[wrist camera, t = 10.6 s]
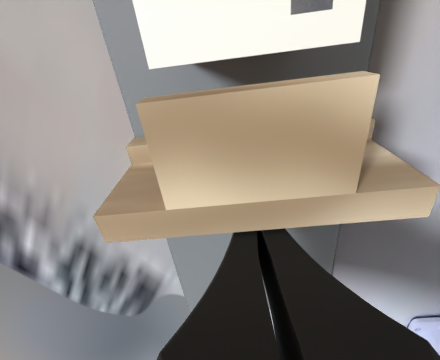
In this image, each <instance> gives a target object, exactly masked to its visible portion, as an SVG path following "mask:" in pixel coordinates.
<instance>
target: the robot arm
mask: <svg viewBox="0 0 440 360" xmlns="http://www.w3.org/2000/svg"><path fill="white" fill-rule="evenodd" d="M262 277H263V278H262ZM263 281H264V283H263ZM264 285H265V288H264ZM265 289H266V293H267V297H268V301H269V305H270V309H271V314H272V319H273V324H274V330H275V334H274V330H273V325H272V321H271V316H270V312H269V307H268V302H267V298H266V293H265ZM275 337H276V338H275ZM157 360H440V317H433V318H417V319H414V320H412V321H411V323H410V325H409V327H408V328H406V327H405V326H403V325H401V324H400V323H398V322H396V321H395V320H393V319H391V318H390V317H388V316H387V315H385V314H384V313H382V312H381V311H379V310H378V309H376V308H375V307H373V306H372V305H370V304H369V303H367V302H366V301H364V300H363V299H362V298H360V297H359V296H358V295H357V294H355V293H354V292H353V291H351V290H350V289H349V288H347V287H346V286H345V285H343V284H342V283H341V282H339V281H338V280H337V279H336V278H334V277H333V276H332V275H331V274H330V273H328V272H327V271H326V270H325V269H324V268H323V267H322V266H320V265H319V264H318V263H317V262H316V261H315V260H314V259H313V258H312V257H311V256H310V255H309V254H308V253H307V252H306V251H305V250H304V249H303V248H302V247H301V246H300V245H299V244H298V243H297V242H296V241H295V239H294V238H293V237H292V236H291V235H290V234H289V232H288V231H287V230H286V229H285V228H283V229H271V230H258V231H246V232H233V235H232V238H231V241H230V244H229V246H228V248H227V251H226V253H225V256H224V258H223V260H222V262H221V264H220V266H219V268H218V270H217V272H216V274H215V276H214V278H213V279H212V281H211V283H210V284H209V286H208V288H207V290H206V291H205V293H204V294H203V296H202V298H201V299H200V301H199V302H198V303H197V305H196V306H195V308H194V309H193V311H192V312H191V314H190V315H189V316H188V318H187V319H186V320H185V322H184V323H183V324H182V326H181V327H180V328H179V330H178V331H177V332H176V333H175V334H174V336H173V337H172V338H171V339H170V340H169V342H168V343H167V344H166V345H165V347H164V348H163V349H162V350H161V352H160V353H159V356H158V358H157Z"/></svg>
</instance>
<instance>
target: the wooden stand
mask: <svg viewBox="0 0 440 360" xmlns="http://www.w3.org/2000/svg"><path fill="white" fill-rule="evenodd" d="M379 78H380V74H376V73H371V72H366V71H358V72H350V73H342V74H333V75H325V76H317V77H309V78H301V79H293V80H284V81H276V82H268V83H260V84H252V85H243V86H235V87H227V88H219V89H211V90H203V91H194V92H186V93H178V94H170V95H162V96H153V97H145V98H143V99H142V100H140V101H139V102H138V103H136V107H137V111H138V114H139V118H140V121H141V125H142V128H143V132H144V135H145V137H137V138H134V139H133V140H132V141H131V142H130V143H129V144H128V145H127V146H126V149H127V152H128V155H129V158H130V161H131V163H132V165H131V166H130V168H129V169H128V170H127V172H126V173H125V174H124V176H123V177H122V178H121V180H120V181H119V182H118V184H117V185H116V186H115V188H114V189H113V190H112V192H111V193H110V194H109V196H108V197H107V198H106V200H105V201H104V202H103V204H102V205H101V206H100V208H99V209H98V210H97V212H96V213H95V214H94V216H93V218H94V220H95V222H96V224H97V226H98V228H99V230H100V232H101V234H102V236H103V238H104V240H105V242H106V243H109V242H121V241H134V240H146V239H159V238H171V237H184V236H196V235H209V234H221V233H233V232H246V231H258V230H271V229H283V228H296V227H308V226H321V225H333V224H346V223H358V222H371V221H383V220H395V219H408V218H420V217H429V214H430V212H431V210H432V207H433V205H434V202H435V200H436V198H437V195H438V193H439V190H440V185H439V184H438V183H436V182H435V181H433V180H432V179H430V178H429V177H427V176H426V175H424V174H423V173H421V172H420V171H418V170H417V169H415V168H414V167H412V166H410V165H409V164H407V163H406V162H404V161H403V160H401V159H400V158H398V157H397V156H395V155H394V154H392V153H391V152H389V151H388V150H386V149H385V148H383V147H382V146H380V145H378V144H377V143H375V142H374V141H372V140H371V139H372V134H373V130H374V125H375V119H373V118H371V117H372V112H373V107H374V103H375V98H376V93H377V88H378V83H379Z"/></svg>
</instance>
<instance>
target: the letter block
mask: <svg viewBox="0 0 440 360" xmlns="http://www.w3.org/2000/svg"><path fill="white" fill-rule="evenodd" d="M132 1H133V5H134V9H135V13H136V17H137V22H138V26H139V30H140V34H141V38H142V42H143V46H144V50H145V54H146V59H147V63H148V67H149V69H155V68H163V67H170V66H178V65H186V64H193V63H201V62H209V61H216V60H224V59H232V58H239V57H247V56H255V55H262V54H270V53H278V52H285V51H293V50H301V49H308V48H316V47H324V46H331V45H339V44H347V43H354V42H360V37H361V31H362V24H363V18H364V11H365V5H366V0H132Z"/></svg>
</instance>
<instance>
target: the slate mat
mask: <svg viewBox="0 0 440 360" xmlns="http://www.w3.org/2000/svg"><path fill="white" fill-rule="evenodd" d="M93 4H94V7H95V10H96V13H97V16H98V20H99V23H100V26H101V29H102V32H103V36H104V39H105V42H106V45H107V49H108V52H109V55H110V58H111V61H112V65H113V68H114V71H115V74H116V77H117V81H118V84H119V87H120V90H121V94H122V97H123V100H124V103H125V106H126V110H127V113H128V116H129V119H130V123H131V126H132V129H133V132H134V135H135V138H137V137H145V135H144V132H143V128H142V125H141V121H140V118H139V114H138V111H137V107H136V103H138V102H139V101H140V100H142V99H143V98H145V97H153V96H162V95H170V94H178V93H186V92H194V91H203V90H211V89H219V88H227V87H235V86H243V85H252V84H260V83H268V82H276V81H284V80H293V79H301V78H309V77H317V76H325V75H333V74H342V73H350V72H358V71H366V72H368V66H369V61H370V55H371V50H372V44H373V38H374V33H375V27H376V22H377V16H378V10H379V5H380V0H366V5H365V11H364V18H363V24H362V31H361V37H360V42H354V43H347V44H339V45H331V46H324V47H316V48H308V49H301V50H293V51H285V52H278V53H270V54H262V55H255V56H247V57H239V58H232V59H224V60H216V61H209V62H201V63H193V64H186V65H178V66H170V67H163V68H155V69H149V67H148V63H147V59H146V54H145V50H144V46H143V42H142V38H141V34H140V30H139V26H138V22H137V17H136V13H135V9H134V5H133V1H132V0H93ZM339 228H340V224H333V225H321V226H308V227H296V228H285V229H286V230H287V231H288V232H289V234H290V235H291V236H292V237H293V238H294V239H295V241H296V242H297V243H298V244H299V245H300V246H301V247H302V248H303V249H304V250H305V251H306V252H307V253H308V254H309V255H310V256H311V257H312V258H313V259H314V260H315V261H316V262H317V263H318V264H319V265H320V266H322V267H323V268H324V269H325V270H326V271H327V272H328V273H330V274H331V273H332V267H333V262H334V256H335V251H336V245H337V240H338V234H339ZM232 235H233V233H221V234H209V235H196V236H184V237H171V238H167V241H168V245H169V248H170V251H171V254H172V258H173V261H174V264H175V267H176V270H177V274H178V277H179V280H180V283H181V287H182V290H183V293H184V296H185V299H186V302H187V306H188V309H189V312H192V311H193V309H194V308H195V306H196V305H197V303H198V302H199V301H200V299H201V298H202V296H203V294H204V293H205V291H206V290H207V288H208V286H209V284H210V283H211V281H212V279H213V278H214V276H215V274H216V272H217V270H218V268H219V266H220V264H221V262H222V260H223V258H224V256H225V253H226V251H227V248H228V246H229V244H230V241H231V238H232ZM262 278H263V277H262ZM263 283H264V281H263ZM264 288H265V285H264ZM265 293H266V289H265ZM266 298H267V302H268V307H269V308H270V305H269V301H268V297H267V293H266Z"/></svg>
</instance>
